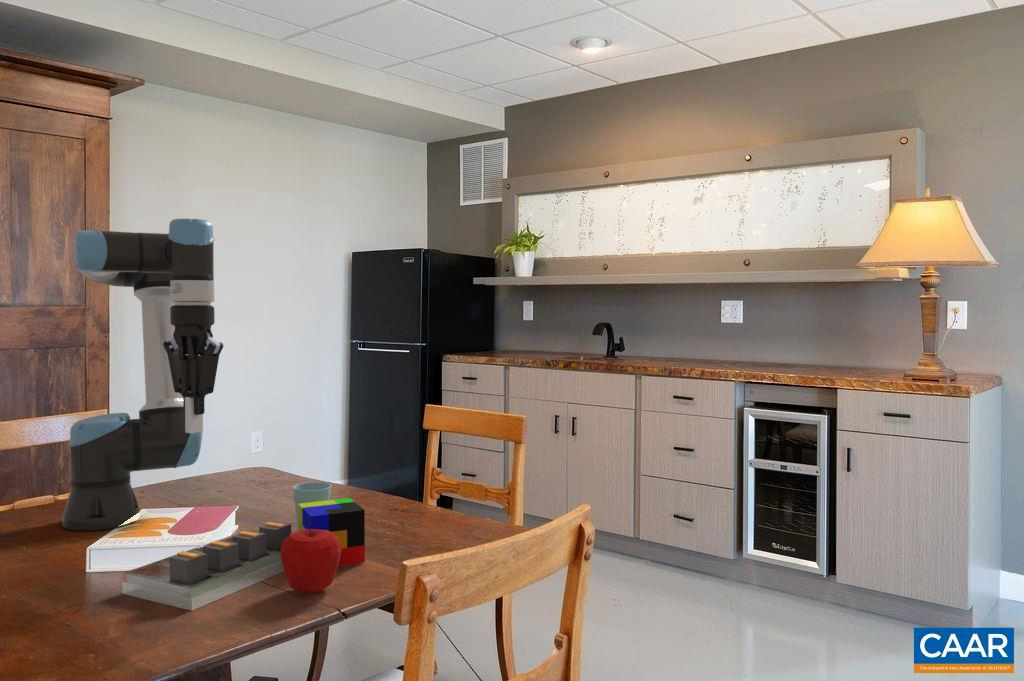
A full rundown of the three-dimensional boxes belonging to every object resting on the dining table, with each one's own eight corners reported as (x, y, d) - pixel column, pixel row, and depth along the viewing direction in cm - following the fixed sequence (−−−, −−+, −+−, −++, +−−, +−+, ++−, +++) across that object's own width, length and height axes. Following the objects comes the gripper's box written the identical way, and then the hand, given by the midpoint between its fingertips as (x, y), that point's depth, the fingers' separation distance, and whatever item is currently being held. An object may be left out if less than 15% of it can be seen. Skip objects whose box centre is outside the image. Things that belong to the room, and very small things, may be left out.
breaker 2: (203, 575, 133) (202, 544, 132) (221, 568, 136) (221, 538, 136) (220, 579, 131) (220, 548, 131) (238, 572, 135) (238, 541, 134)
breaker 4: (259, 553, 144) (259, 525, 144) (274, 547, 148) (274, 520, 148) (276, 557, 143) (275, 528, 142) (291, 550, 146) (291, 522, 146)
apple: (284, 605, 125) (283, 538, 125) (276, 585, 134) (276, 522, 134) (346, 596, 129) (346, 531, 129) (335, 578, 138) (334, 516, 138)
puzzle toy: (310, 571, 142) (310, 516, 142) (298, 555, 151) (298, 503, 150) (364, 562, 147) (364, 509, 146) (349, 548, 156) (349, 498, 155)
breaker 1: (169, 587, 127) (169, 555, 127) (190, 580, 131) (189, 548, 130) (187, 591, 125) (187, 559, 125) (207, 583, 129) (207, 552, 129)
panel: (122, 593, 130) (122, 572, 130) (240, 550, 154) (240, 532, 153) (191, 610, 123) (191, 588, 123) (304, 562, 146) (304, 543, 146)
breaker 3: (232, 564, 139) (232, 534, 138) (249, 557, 142) (248, 528, 142) (249, 567, 137) (249, 537, 137) (266, 561, 140) (265, 531, 140)
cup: (335, 538, 161) (334, 488, 161) (296, 542, 158) (296, 491, 158) (327, 528, 168) (327, 480, 168) (291, 532, 165) (290, 483, 165)
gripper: (150, 303, 144) (152, 432, 145) (201, 304, 138) (203, 437, 139) (183, 304, 150) (185, 426, 151) (234, 304, 145) (235, 431, 146)
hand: (194, 431), depth 145 cm, fingers closed
